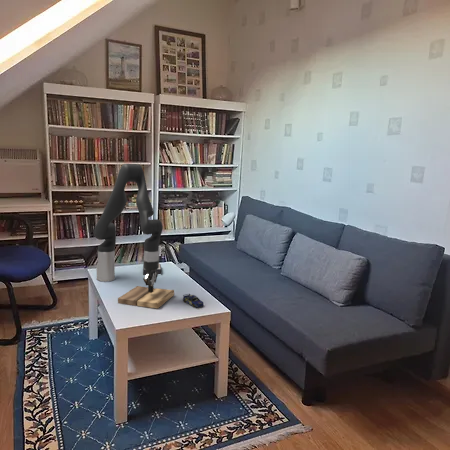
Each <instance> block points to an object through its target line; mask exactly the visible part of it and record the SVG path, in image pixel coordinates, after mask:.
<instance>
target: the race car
mask: <svg viewBox="0 0 450 450" xmlns="http://www.w3.org/2000/svg"><path fill="white" fill-rule="evenodd" d="M182 296H183V297H182V301H183V303H185V304H187V305H190V306H192V308H195V309H196V310H200V311H201V310H202V308H203V307H204V302H203V301H202V300H201V299H200V298H199V297H198V296H197V295H194V294H190V293H187V294H186V293H185V294H183V295H182Z"/></svg>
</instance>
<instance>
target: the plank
mask: <svg viewBox="0 0 450 450" xmlns="http://www.w3.org/2000/svg"><path fill="white" fill-rule="evenodd" d="M174 296H175V289H167V288H165V289H164V288H157V287H156V288H155V287H154V289H153V292H152V293H148V294H146V295H145V296H144V297H142V298H141V299H139V300H138V301H137V306H136V307H144V308H151V309H159V308H161V307H162V306H163V305H164V304H165V303H166V302H167V301H169V300H170V299H171V298H173V297H174Z"/></svg>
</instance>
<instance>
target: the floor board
mask: <svg viewBox="0 0 450 450" xmlns="http://www.w3.org/2000/svg"><path fill="white" fill-rule="evenodd" d="M153 289H155V287H153ZM148 293H149V292H148V286H140V285H137V286H135V287H134V288H132V289H130V290H129V291H127V292H126V293H124V294H122V295H121V296H120V297H117V304H120V305H127V306H135V307H138V306H137V301H138V300H139V299H141V298H142V297H144V296H145V295H146V294H148Z"/></svg>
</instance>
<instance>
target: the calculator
mask: <svg viewBox="0 0 450 450" xmlns="http://www.w3.org/2000/svg"><path fill="white" fill-rule="evenodd" d="M156 271H157V272H158V274H161V275H162V266H161V264H160V262H159V268H158V269H156ZM142 275H143V276H146V269H144V263H143V266H142Z"/></svg>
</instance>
